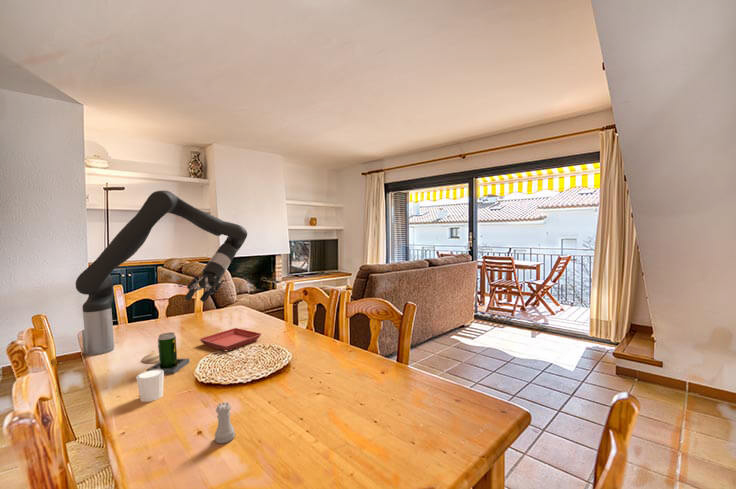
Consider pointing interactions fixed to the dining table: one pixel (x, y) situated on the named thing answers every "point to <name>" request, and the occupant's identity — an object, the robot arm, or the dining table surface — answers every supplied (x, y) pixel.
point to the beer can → (167, 350)
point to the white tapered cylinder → (150, 385)
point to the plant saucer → (230, 339)
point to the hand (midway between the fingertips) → (194, 300)
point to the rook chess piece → (224, 424)
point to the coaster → (151, 358)
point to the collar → (173, 370)
